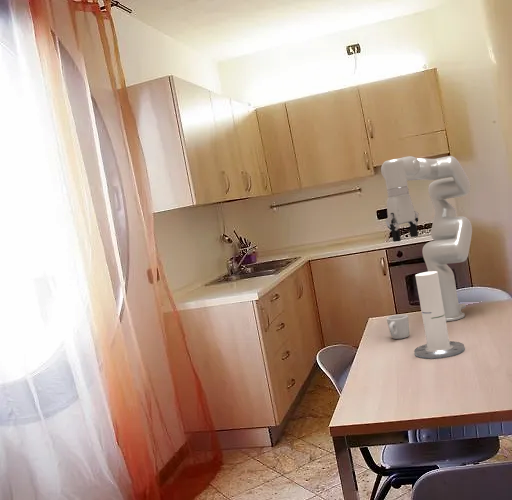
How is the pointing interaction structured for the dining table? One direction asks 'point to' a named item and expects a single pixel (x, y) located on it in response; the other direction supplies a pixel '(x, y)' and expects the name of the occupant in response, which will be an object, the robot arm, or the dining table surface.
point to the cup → (398, 326)
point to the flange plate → (428, 354)
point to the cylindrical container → (432, 311)
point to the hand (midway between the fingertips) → (405, 238)
